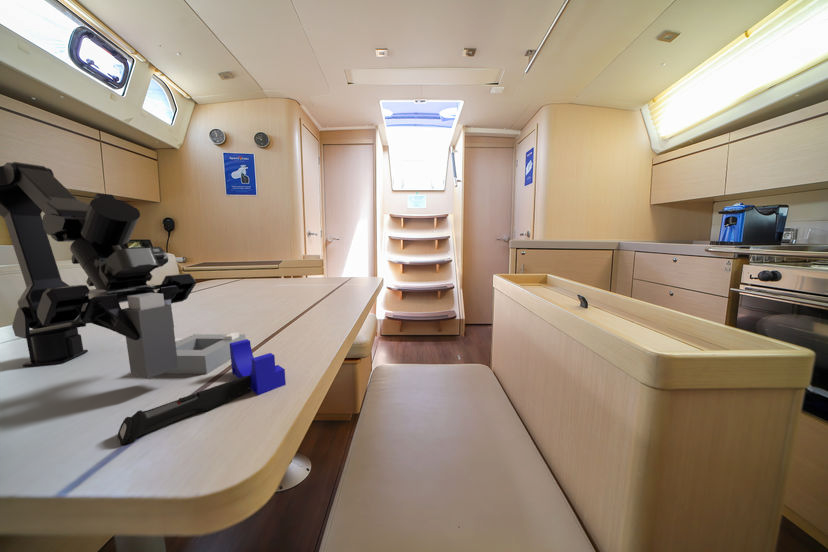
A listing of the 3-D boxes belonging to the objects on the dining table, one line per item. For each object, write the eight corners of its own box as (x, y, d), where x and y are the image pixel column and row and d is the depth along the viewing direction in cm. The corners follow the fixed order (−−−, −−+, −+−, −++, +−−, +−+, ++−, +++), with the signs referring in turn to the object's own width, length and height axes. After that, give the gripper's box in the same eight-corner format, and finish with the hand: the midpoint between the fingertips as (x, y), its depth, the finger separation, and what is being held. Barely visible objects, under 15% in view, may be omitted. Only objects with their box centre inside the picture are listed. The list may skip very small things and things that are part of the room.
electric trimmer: (256, 396, 47) (254, 377, 46) (122, 449, 35) (118, 425, 34) (246, 388, 49) (244, 371, 49) (117, 437, 37) (114, 413, 37)
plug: (131, 374, 47) (120, 296, 45) (162, 363, 51) (153, 291, 50) (147, 378, 46) (136, 298, 44) (178, 367, 50) (169, 293, 48)
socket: (145, 373, 54) (142, 351, 54) (195, 348, 66) (193, 330, 66) (206, 373, 54) (204, 351, 53) (246, 349, 66) (244, 331, 65)
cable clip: (285, 385, 50) (283, 352, 49) (258, 396, 46) (255, 361, 45) (257, 366, 57) (255, 337, 57) (232, 374, 54) (229, 343, 53)
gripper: (31, 229, 38) (90, 317, 36) (184, 231, 55) (230, 291, 53) (15, 284, 42) (67, 368, 39) (163, 271, 59) (205, 328, 57)
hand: (155, 333), depth 47 cm, fingers closed on plug, 4 cm apart
